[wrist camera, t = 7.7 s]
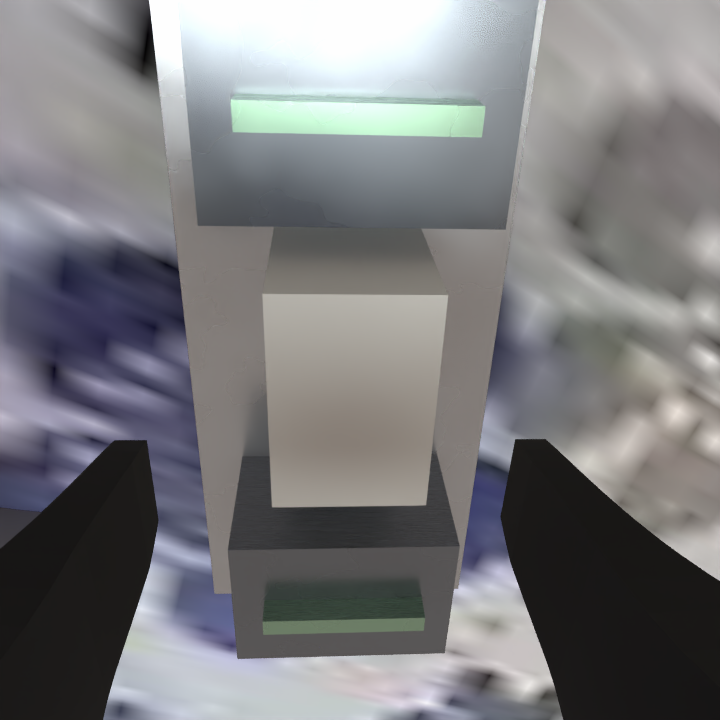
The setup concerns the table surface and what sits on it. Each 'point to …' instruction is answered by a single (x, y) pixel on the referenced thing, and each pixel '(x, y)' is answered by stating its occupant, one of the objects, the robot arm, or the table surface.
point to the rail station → (339, 210)
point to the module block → (351, 365)
